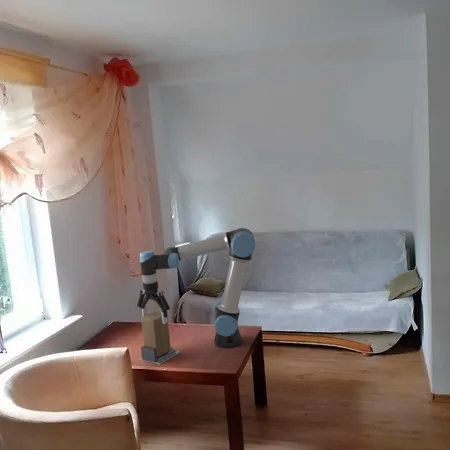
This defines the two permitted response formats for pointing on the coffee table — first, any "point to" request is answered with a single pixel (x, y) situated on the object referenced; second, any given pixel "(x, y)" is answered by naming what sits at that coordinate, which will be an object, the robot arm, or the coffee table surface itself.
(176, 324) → the coffee table surface
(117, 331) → the coffee table surface
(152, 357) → the grey l-shaped piece
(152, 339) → the block
